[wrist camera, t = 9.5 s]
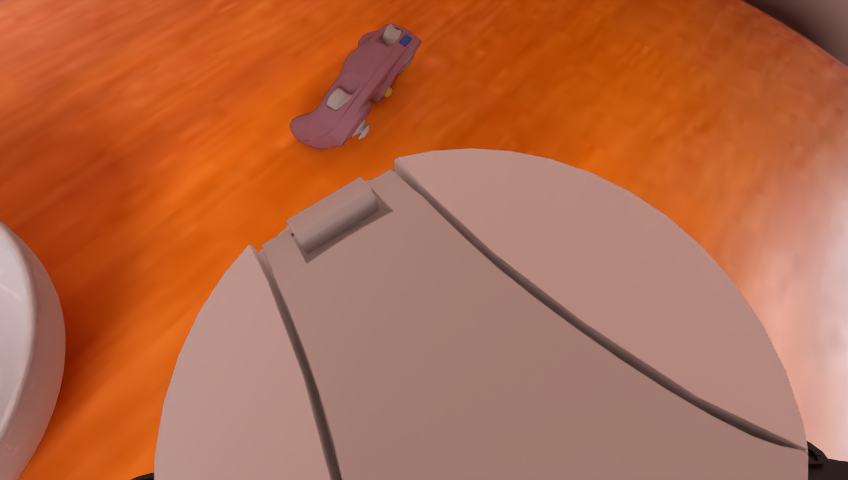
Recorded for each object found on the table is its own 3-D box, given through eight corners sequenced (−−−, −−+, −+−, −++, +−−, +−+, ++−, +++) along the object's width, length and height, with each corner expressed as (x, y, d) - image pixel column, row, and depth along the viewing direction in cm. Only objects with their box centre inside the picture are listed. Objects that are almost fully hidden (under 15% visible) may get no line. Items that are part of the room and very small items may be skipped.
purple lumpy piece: (336, 176, 37) (358, 142, 30) (282, 136, 36) (293, 92, 29) (409, 80, 40) (443, 31, 33) (361, 41, 39) (386, -17, 33)
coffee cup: (309, 428, 20) (10, 322, 6) (480, 311, 22) (529, 31, 8) (431, 653, 17) (348, 1356, 3) (620, 496, 19) (1080, 544, 5)
